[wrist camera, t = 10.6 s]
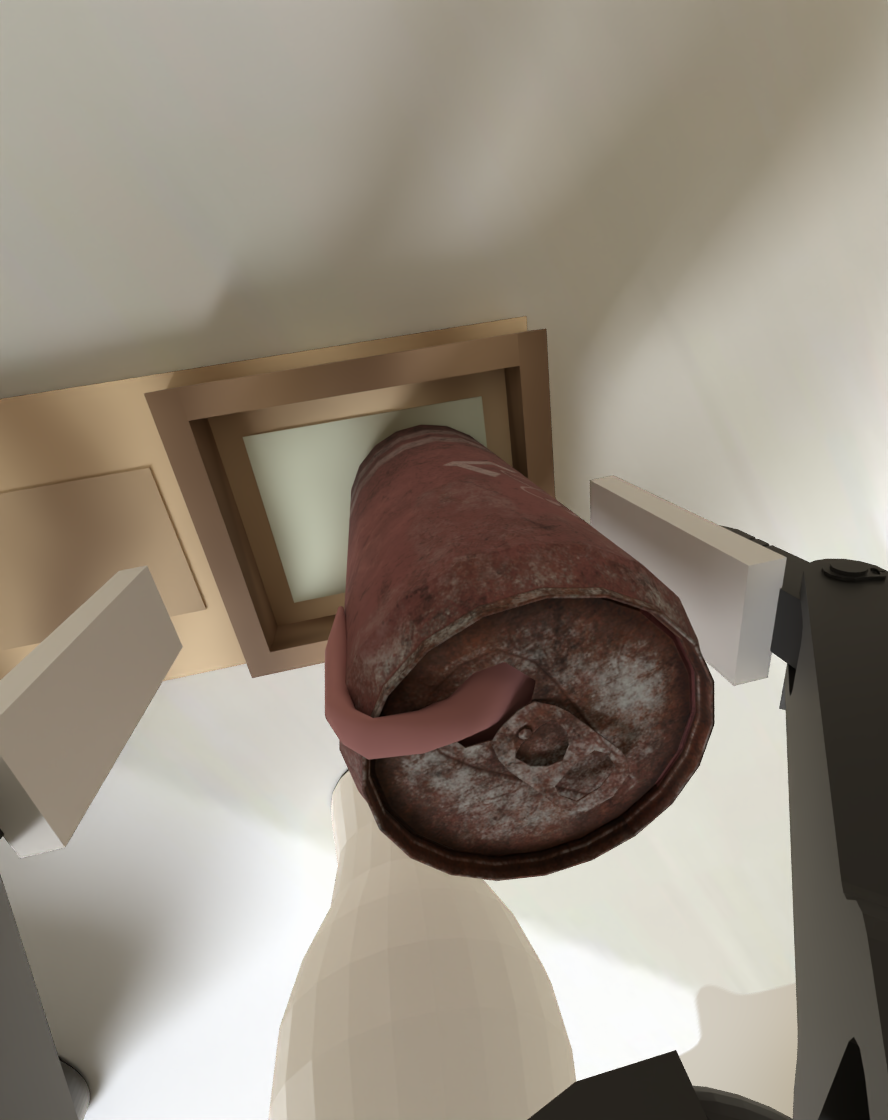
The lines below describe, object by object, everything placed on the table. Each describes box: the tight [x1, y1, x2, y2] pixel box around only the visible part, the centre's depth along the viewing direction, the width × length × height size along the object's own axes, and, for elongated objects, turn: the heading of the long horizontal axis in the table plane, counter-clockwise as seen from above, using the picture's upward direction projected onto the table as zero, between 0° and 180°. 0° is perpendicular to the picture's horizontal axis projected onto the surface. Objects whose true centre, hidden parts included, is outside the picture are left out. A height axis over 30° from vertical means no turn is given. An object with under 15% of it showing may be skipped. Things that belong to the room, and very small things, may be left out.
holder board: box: [0, 316, 555, 681], centre depth 19 cm, size 24×12×4 cm, turn 98°
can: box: [325, 424, 714, 881], centre depth 13 cm, size 6×6×14 cm
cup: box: [268, 771, 576, 1120], centre depth 21 cm, size 11×11×15 cm
